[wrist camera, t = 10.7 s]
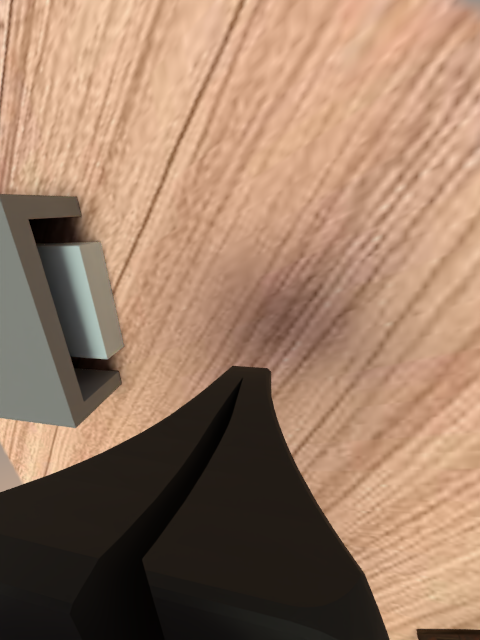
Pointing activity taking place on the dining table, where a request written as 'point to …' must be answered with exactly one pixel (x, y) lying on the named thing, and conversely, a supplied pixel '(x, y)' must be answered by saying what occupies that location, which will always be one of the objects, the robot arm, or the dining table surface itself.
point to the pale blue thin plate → (82, 298)
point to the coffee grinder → (448, 634)
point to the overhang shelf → (38, 327)
